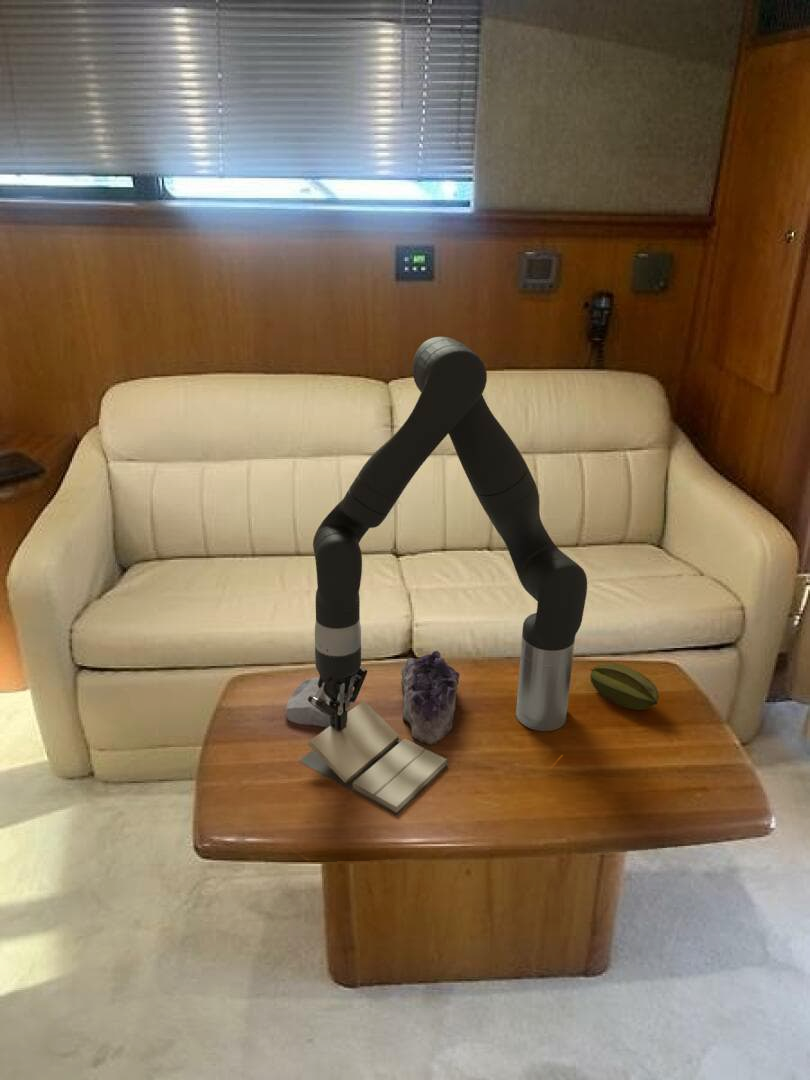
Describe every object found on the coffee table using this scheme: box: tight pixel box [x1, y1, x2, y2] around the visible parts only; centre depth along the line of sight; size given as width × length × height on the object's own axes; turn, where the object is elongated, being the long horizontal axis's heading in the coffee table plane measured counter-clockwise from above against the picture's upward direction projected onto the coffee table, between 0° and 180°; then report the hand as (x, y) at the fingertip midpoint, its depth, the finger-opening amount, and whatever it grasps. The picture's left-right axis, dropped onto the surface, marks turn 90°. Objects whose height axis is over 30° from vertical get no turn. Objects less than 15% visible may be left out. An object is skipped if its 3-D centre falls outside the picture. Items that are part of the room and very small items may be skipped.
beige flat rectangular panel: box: [307, 700, 400, 784], centre depth 135 cm, size 14×9×1 cm, turn 143°
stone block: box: [285, 676, 335, 728], centre depth 148 cm, size 12×5×10 cm
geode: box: [400, 650, 461, 747], centre depth 146 cm, size 20×12×10 cm, turn 1°
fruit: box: [589, 663, 660, 711], centre depth 150 cm, size 11×12×7 cm
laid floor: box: [298, 738, 450, 817], centre depth 134 cm, size 15×21×2 cm
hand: (339, 727), depth 135 cm, fingers closed
